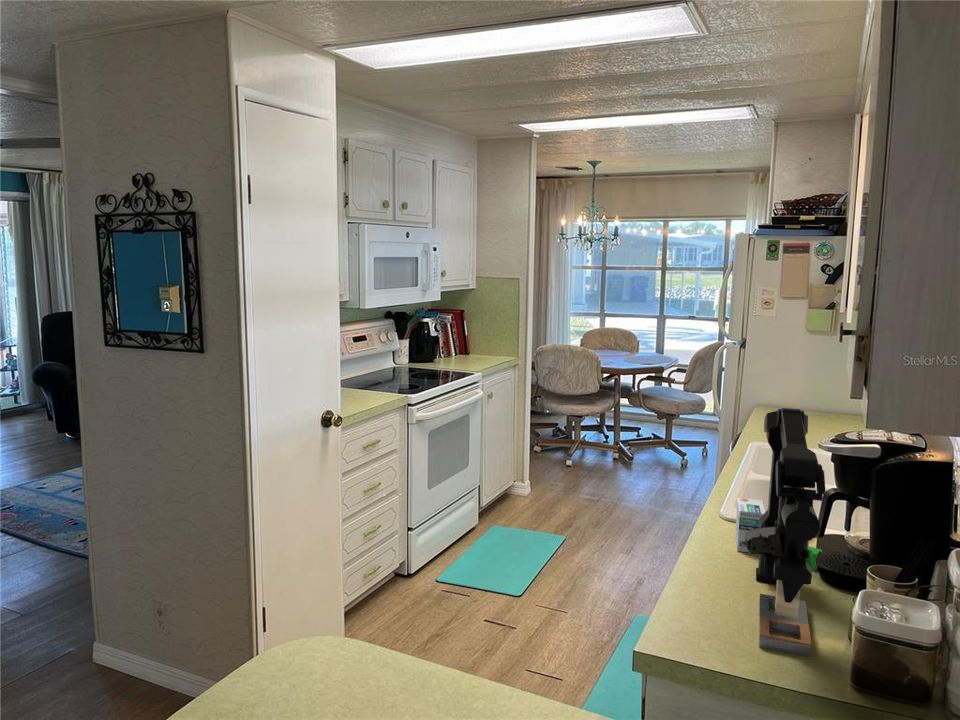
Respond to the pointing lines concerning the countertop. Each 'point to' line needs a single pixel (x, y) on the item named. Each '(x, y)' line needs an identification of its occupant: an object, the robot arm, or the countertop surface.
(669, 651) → the countertop surface
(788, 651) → the grey board
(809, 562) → the pipe clamp
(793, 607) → the beech peg
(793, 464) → the robot arm
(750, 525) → the light bulb box
